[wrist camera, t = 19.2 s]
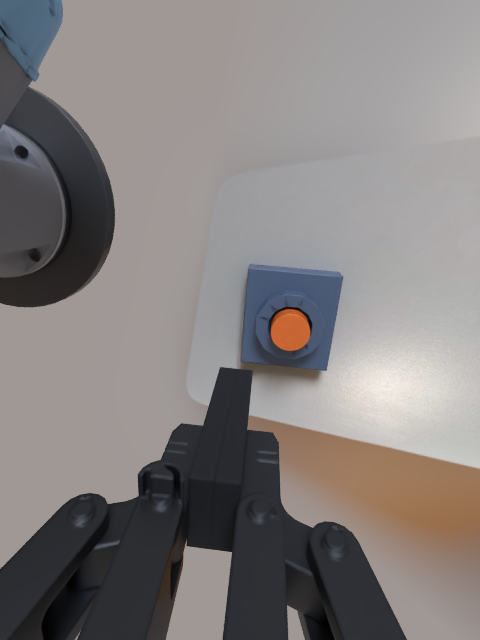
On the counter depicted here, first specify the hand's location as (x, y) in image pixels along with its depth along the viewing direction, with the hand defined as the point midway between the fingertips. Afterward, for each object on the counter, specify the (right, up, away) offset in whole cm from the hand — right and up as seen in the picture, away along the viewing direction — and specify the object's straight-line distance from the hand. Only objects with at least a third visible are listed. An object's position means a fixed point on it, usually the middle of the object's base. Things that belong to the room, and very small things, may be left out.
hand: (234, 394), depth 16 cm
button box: (+5, +4, +20) cm, 21 cm away
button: (+5, +3, +17) cm, 18 cm away
